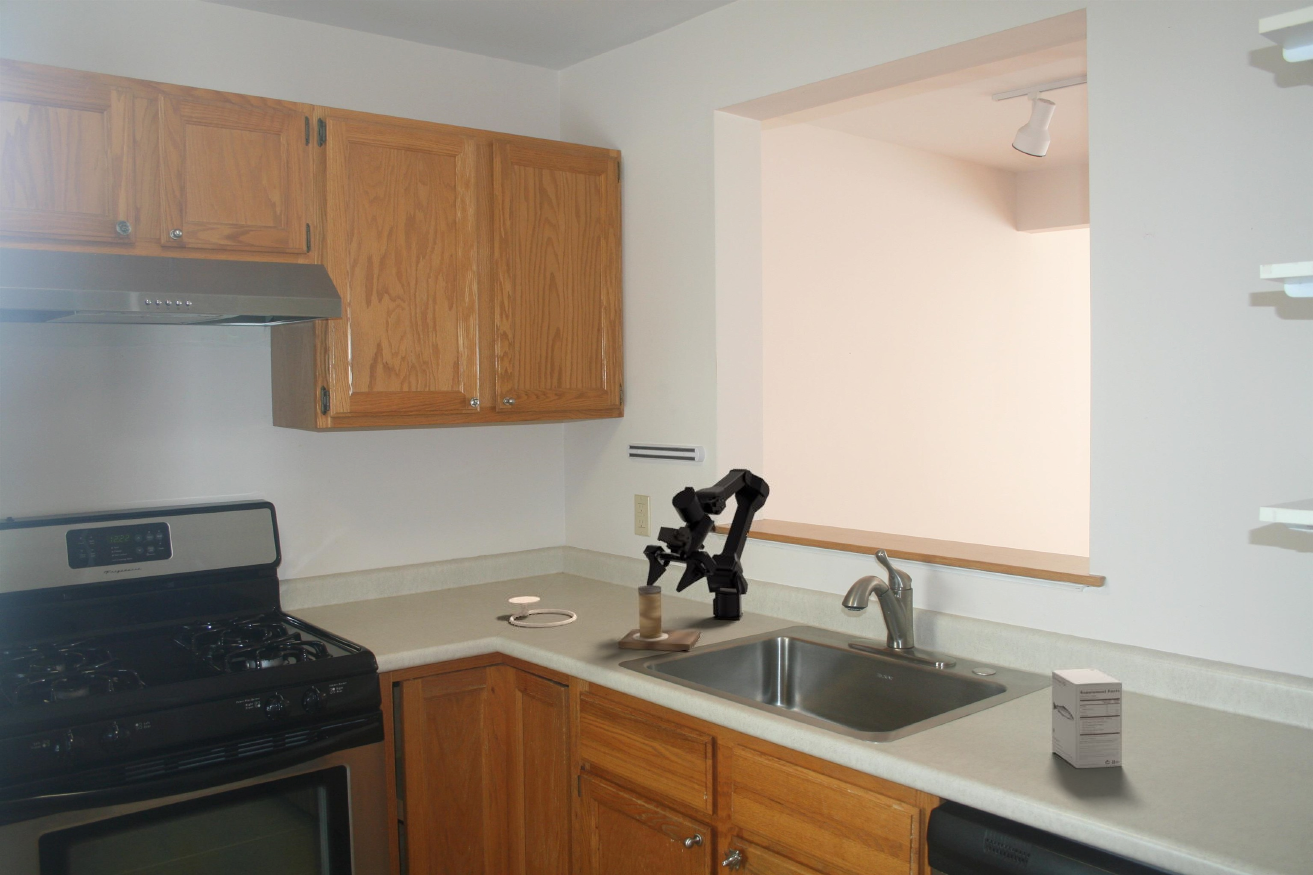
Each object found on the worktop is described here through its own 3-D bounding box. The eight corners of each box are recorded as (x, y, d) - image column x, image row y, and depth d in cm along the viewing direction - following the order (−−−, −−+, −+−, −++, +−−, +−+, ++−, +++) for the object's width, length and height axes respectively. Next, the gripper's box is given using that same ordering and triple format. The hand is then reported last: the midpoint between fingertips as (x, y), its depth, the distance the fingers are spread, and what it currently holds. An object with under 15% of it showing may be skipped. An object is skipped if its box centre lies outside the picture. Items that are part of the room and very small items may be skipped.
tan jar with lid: (661, 632, 223) (660, 585, 222) (662, 638, 218) (661, 589, 217) (639, 633, 223) (637, 585, 222) (639, 639, 217) (638, 590, 217)
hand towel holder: (535, 614, 234) (487, 602, 249) (535, 632, 234) (488, 619, 250) (590, 603, 246) (541, 592, 261) (590, 620, 246) (542, 608, 261)
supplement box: (1050, 751, 149) (1050, 669, 149) (1096, 748, 150) (1096, 667, 149) (1075, 769, 142) (1074, 683, 141) (1123, 766, 142) (1123, 681, 142)
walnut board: (700, 637, 225) (700, 630, 224) (689, 650, 213) (689, 643, 213) (632, 635, 228) (632, 627, 228) (619, 647, 217) (618, 640, 217)
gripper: (647, 510, 232) (615, 563, 225) (707, 516, 219) (675, 572, 212) (670, 539, 238) (640, 591, 231) (730, 546, 225) (699, 601, 218)
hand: (662, 588), depth 223 cm, fingers open, 9 cm apart
